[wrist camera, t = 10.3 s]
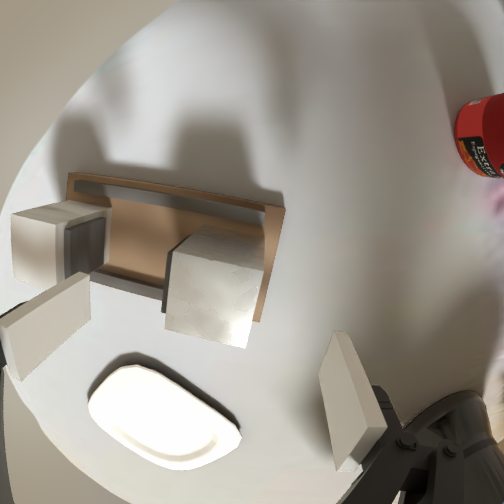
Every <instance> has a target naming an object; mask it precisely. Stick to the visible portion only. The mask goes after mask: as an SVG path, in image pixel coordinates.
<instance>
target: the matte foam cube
mask: <svg viewBox="0 0 504 504" xmlns="http://www.w3.org/2000/svg"><path fill="white" fill-rule="evenodd" d="M264 256H265V238H263V237H258V236H253V235H249V234H244V233H240V232H235V231H230V230H226V229H221V228H216V227H212V226H207V225H203V226H202V227H200V228H199V229H198V230H197V231H196V232H195V233H193V234H192V235H188V236H187V237H185V238H184V239H183V240H182V241H181V242H179V243H178V244H177V245H176V246H175V247H174V248H172V249H171V250H170V251H169V252H168V253H167V261H166V269H165V278H164V288H163V298H162V309H161V312H162V313H166V319H165V329H167V330H170V331H174V332H178V333H182V334H186V335H190V336H194V337H198V338H202V339H206V340H210V341H215V342H219V343H223V344H228V345H232V346H237V347H242V348H245V347H246V343H247V339H248V335H249V331H250V327H251V323H252V319H253V315H254V311H255V307H256V302H257V298H258V294H259V290H260V286H261V282H262V278H263V273H264Z"/></svg>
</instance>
